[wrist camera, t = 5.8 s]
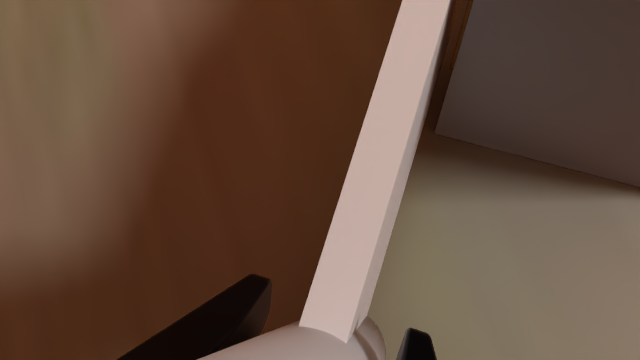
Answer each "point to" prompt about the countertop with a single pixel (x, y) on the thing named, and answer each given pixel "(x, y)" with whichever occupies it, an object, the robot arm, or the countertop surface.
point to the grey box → (550, 83)
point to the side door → (366, 201)
